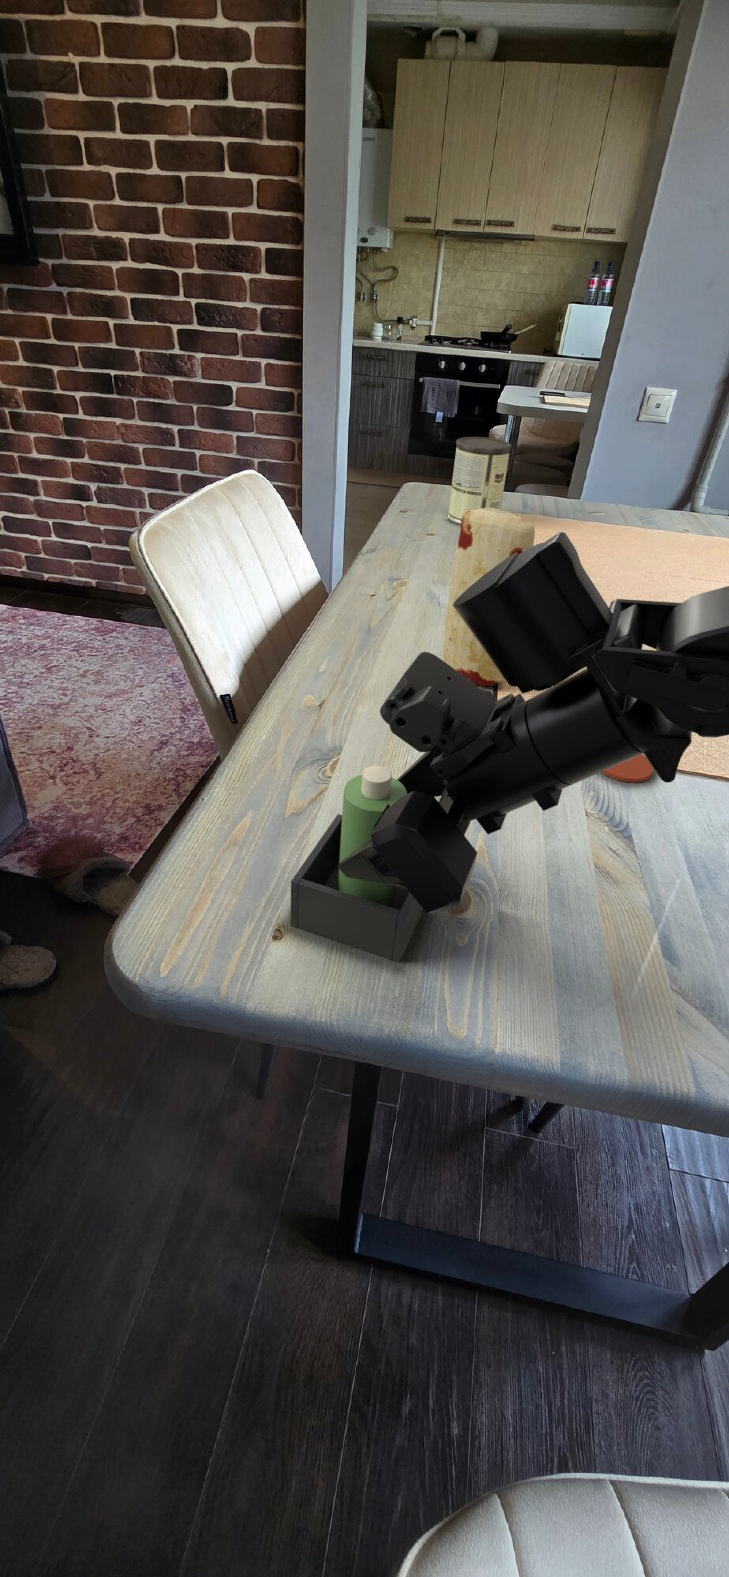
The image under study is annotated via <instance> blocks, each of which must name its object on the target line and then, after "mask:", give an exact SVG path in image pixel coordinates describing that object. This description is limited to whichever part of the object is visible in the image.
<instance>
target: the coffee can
mask: <svg viewBox="0 0 729 1577" xmlns="http://www.w3.org/2000/svg"><path fill="white" fill-rule="evenodd" d="M455 442H456V448H455V456H454V457H455V458H454V464H453V472H452V481H451V489H450V495H449V496H450V497H449V505H448V506H449V507H448V513H447V519H448V520H450V521H451V522H454V523H456V524H459V525H461V521H462V515H463V513H464V512H465V511H468V510H476V509H481V508H486V507H490V508H496V509H499V510H502V509H501V507H502V502H503V497H504V495H503V494H504V490H505V484H506V478H507V473H508V472H507V471H508V466H509V461H510V460H509V459H510V454H511V450H512V447H513V445H512V444H511V443H510V442H508V441H505V440H502V439H497V438H492V437H486V436H485V437H483V436H464V437H459V438H458V439H456V441H455Z"/></svg>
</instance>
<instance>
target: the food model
mask: <svg viewBox="0 0 729 1577" xmlns="http://www.w3.org/2000/svg"><path fill="white" fill-rule="evenodd" d="M459 530H460V531H459V535H458V539H457V544H456V550H455V555H454V561H453V565H452V571H451V579H450V588H449V597H448V602H447V608H446V614H445V622H444V640H443V649H442V660H443V661H444V662H445V663H447V664H448V665H449V666H451V667H452V668H454V669H455V670H456V671H458V672H459V673H460V674H462V675H463V676H465V677H466V678H467V679H469V680H470V681H472V682H473V683H474V684H475V685H477V686H478V685H479V686H481V687H490V686H491V687H492V686H494V685H497V684H499V683H501V682H502V680H503V679H504V677H503V676H502V674H501V673H500V672H499V670H498V669H497V667H496V666H495V664H494V663H493V662H492V660H491V659H490V657H489V656H488V655H487V653H486V652H485V650H484V649H483V647H482V646H481V645H480V643H479V642H478V640H477V639H476V638H475V636H474V635H473V633H472V632H471V631H470V629H469V628H468V626H467V625H466V623H465V622H464V621H463V619H462V618H461V616H460V615H459V614H458V612H457V611H456V609H455V608H454V607H453V604H454V602H455V601H456V599H457V598H458V597H459V596H460V595H461V594H462V593H463V592H465V591H466V590H467V589H468V588H469V587H470V586H471V585H472V584H474V583H475V582H476V581H477V580H478V579H480V578H481V577H482V576H484V575H485V574H486V573H487V572H489V571H490V570H491V569H493V568H494V567H495V566H497V565H498V564H499V563H501V562H502V561H504V560H505V559H507V558H508V557H509V556H511V555H512V554H514V553H517V554H518V555H519V554H521V553H522V552H524V551H525V550H527V549H529V548H531V547H533V546H535V543H534V542H535V535H536V529H535V525H534V524H533V523H531V522H529V521H525V520H523V519H522V517H521V516H519V515H518V514H517V515H516V514H515V513H512V512H510V511H506V510H502V509H500V510H499V509H496V508H490V507H486V508H481V509H476V510H468V511H465V512H464V513H463V515H462V521H461V524H460V528H459Z"/></svg>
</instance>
